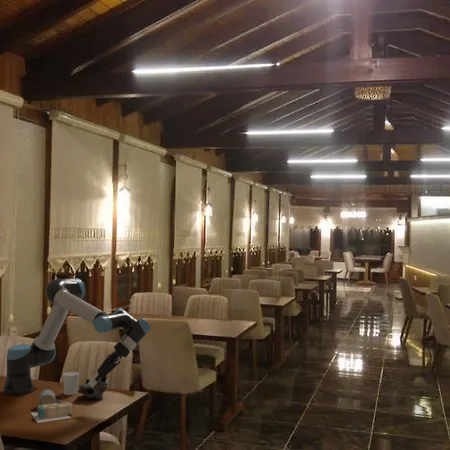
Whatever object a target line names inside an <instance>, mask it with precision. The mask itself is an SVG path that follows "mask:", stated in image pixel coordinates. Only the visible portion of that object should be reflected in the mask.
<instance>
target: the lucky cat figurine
mask: <svg viewBox="0 0 450 450" xmlns="http://www.w3.org/2000/svg"><path fill="white" fill-rule="evenodd" d="M108 377H109V376H108V375H106V376H104V377H102V378H101V379H100V380H99V381H98V382H97V384H96V385H95V386H94V387H93V388H92V387H91V386H90V385H89V384H88V383H89V382H90V381H91V380H90V378H87V379H86V380H85V382H84V383H83V384H81V385H80V387H78V391H77V392H78V394H81V395H84V396H85V397H87V398H89V399H92V400H93V399H94V400H95V401H98V400H100V399H102V398H103V395H104V392H106V391H107V389H108V386H109V379H108Z"/></svg>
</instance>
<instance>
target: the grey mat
mask: <svg viewBox="0 0 450 450" xmlns="http://www.w3.org/2000/svg"><path fill="white" fill-rule="evenodd" d="M30 414H31V416H32V418H33V419H34V420H35V422H36V423H37V424H43V423H51V422H57V421H63V420H70V419H71V416H70V414H68V415H62V416H55V417H48V418H41V419H40V418H39V416H38V411H32V412H30Z"/></svg>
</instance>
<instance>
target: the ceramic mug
mask: <svg viewBox="0 0 450 450" xmlns="http://www.w3.org/2000/svg"><path fill="white" fill-rule="evenodd" d="M37 400H38V403H39V406H41V405H48V404H55V403H63V402H61V401H60V400H58V399H56V394H55V393H54V391H53V390H51V389H44V390H42V391H41V392H40V393H39V394H38V398H37Z"/></svg>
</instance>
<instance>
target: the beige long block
mask: <svg viewBox="0 0 450 450" xmlns="http://www.w3.org/2000/svg"><path fill="white" fill-rule="evenodd" d="M37 412H38V416H39V418H40V419H41V418H48V417H55V416H62V415H72V414H73V404H72V403H71V401H63V402H62V403H55V404H48V405H41V406H40V405H37Z"/></svg>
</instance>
